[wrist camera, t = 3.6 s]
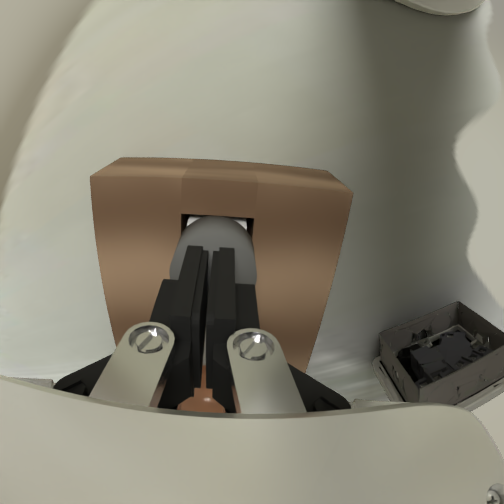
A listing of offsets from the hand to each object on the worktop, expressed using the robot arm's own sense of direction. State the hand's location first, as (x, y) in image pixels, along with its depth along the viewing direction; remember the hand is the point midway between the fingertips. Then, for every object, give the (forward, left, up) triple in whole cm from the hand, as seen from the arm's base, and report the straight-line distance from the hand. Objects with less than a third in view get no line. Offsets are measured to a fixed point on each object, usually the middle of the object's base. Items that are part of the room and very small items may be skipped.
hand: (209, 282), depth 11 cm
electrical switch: (+8, +16, -7) cm, 19 cm away
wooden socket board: (+5, 0, -6) cm, 8 cm away
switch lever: (0, 0, -6) cm, 6 cm away
